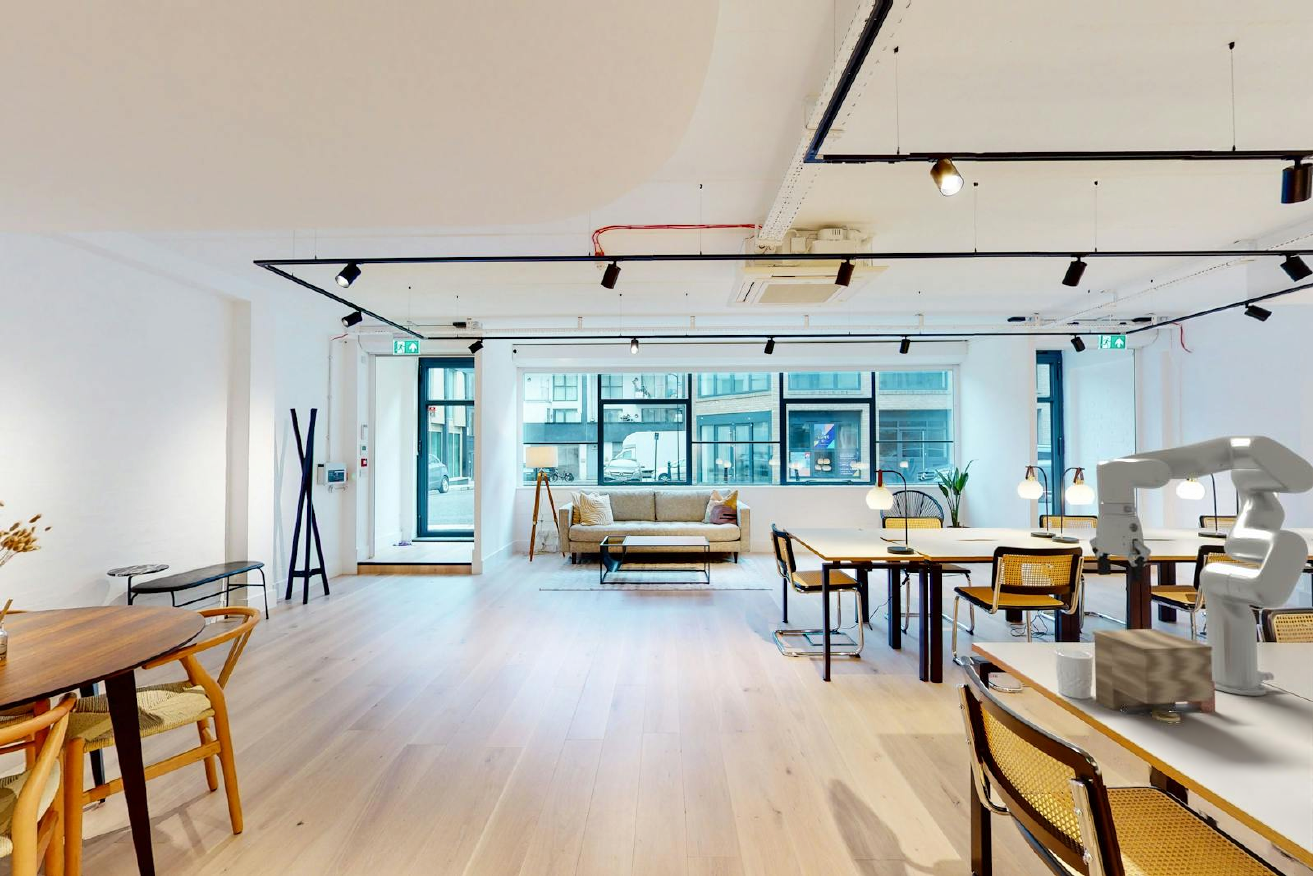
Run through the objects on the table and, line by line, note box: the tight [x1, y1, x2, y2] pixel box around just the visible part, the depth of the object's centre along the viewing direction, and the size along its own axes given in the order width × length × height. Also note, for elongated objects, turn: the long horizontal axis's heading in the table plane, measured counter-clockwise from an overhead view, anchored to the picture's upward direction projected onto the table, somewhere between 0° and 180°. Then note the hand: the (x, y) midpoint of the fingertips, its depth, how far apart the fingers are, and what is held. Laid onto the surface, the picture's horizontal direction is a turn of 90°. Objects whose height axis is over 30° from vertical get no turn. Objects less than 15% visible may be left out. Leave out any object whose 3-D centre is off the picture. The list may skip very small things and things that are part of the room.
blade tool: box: [1120, 680, 1216, 715], centre depth 146 cm, size 21×4×7 cm, turn 96°
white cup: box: [1054, 648, 1094, 700], centre depth 156 cm, size 8×8×10 cm
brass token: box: [1151, 710, 1181, 724], centre depth 141 cm, size 5×5×1 cm
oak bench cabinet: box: [1092, 628, 1213, 711], centre depth 145 cm, size 16×14×17 cm
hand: (1120, 578), depth 157 cm, fingers open, 9 cm apart
